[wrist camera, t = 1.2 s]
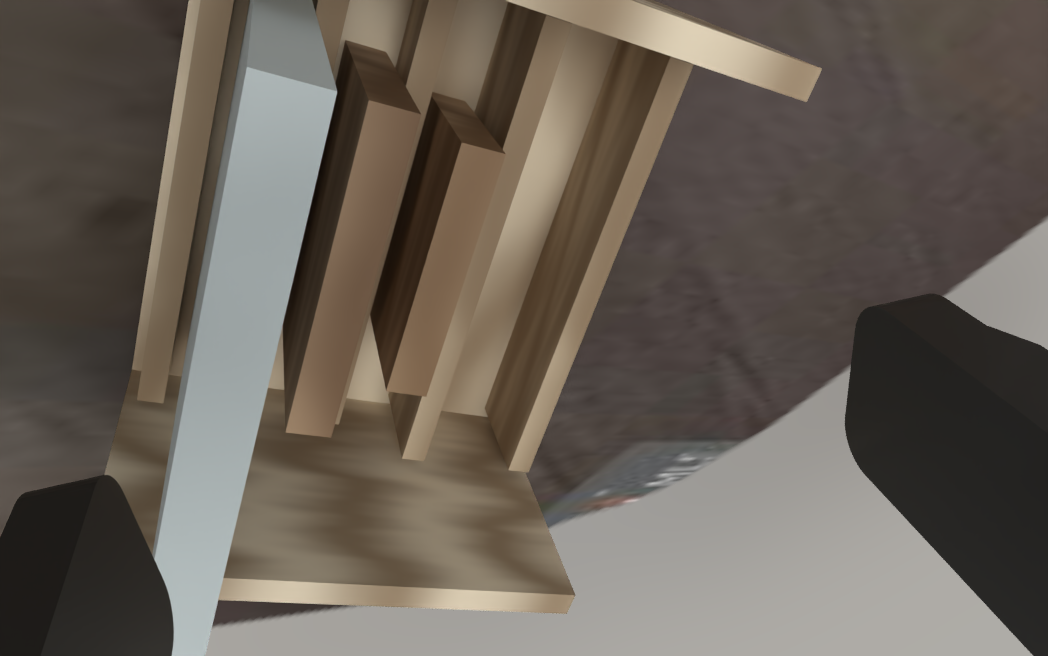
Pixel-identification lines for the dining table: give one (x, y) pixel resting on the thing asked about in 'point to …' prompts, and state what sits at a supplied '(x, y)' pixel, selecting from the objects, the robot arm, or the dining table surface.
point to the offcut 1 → (345, 234)
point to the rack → (481, 312)
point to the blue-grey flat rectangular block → (241, 300)
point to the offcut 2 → (433, 242)
